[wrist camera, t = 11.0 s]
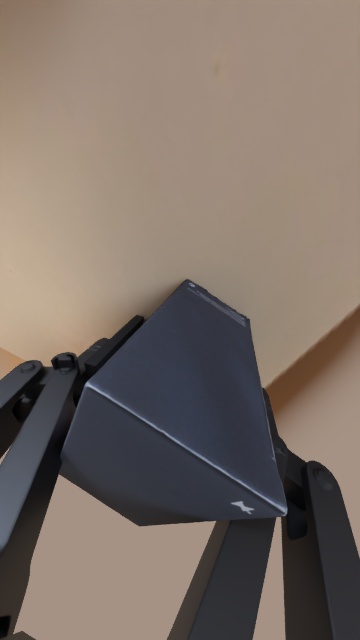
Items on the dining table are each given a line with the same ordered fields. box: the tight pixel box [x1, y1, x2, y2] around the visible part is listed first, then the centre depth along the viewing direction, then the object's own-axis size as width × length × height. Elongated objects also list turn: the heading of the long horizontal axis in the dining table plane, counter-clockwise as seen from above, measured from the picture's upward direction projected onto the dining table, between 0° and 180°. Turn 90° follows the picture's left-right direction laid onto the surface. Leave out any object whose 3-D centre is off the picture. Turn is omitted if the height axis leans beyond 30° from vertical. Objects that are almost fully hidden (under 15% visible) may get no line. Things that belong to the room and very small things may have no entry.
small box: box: [59, 279, 287, 526], centre depth 11 cm, size 11×6×10 cm, turn 150°
